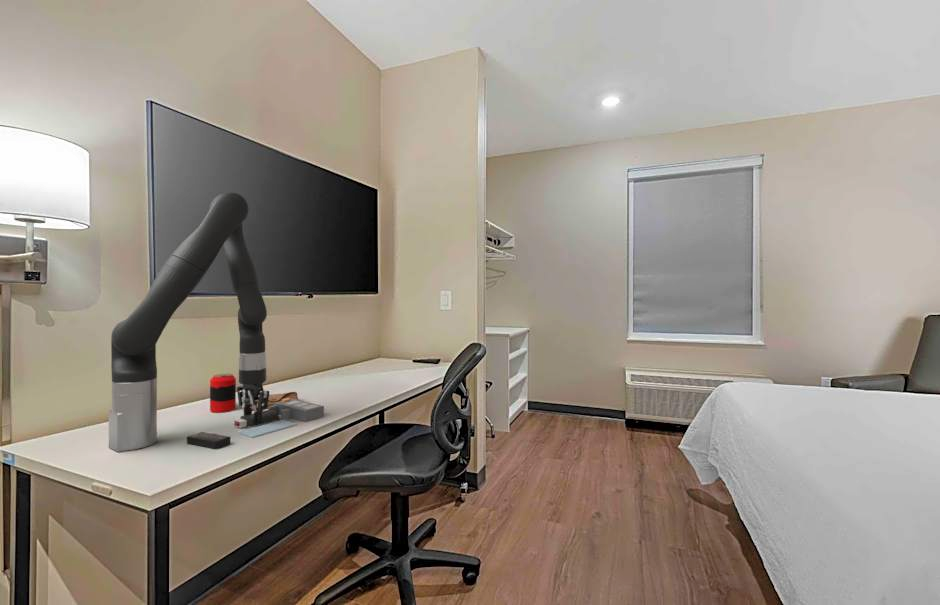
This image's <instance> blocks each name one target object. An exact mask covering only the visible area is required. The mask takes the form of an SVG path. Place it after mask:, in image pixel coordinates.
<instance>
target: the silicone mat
mask: <svg viewBox="0 0 940 605" xmlns="http://www.w3.org/2000/svg"><path fill="white" fill-rule="evenodd" d="M295 426H297V422H296V423H294V422H291V421H288V420H286V419H285V420H281V419H280V420H276V421H272V422H268V423H265V424H261V425H257V426H254V427H252V428H251V427H250V428H247V429H244V430H239V431H238V434H239V435H241V436H245V437H248V438H251V439H254V438H257V437H261V436H265V435H267V434H272V433H274V432H277V431H281V430H285V429H288V428H292V427H295Z"/></svg>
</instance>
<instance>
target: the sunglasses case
mask: <svg viewBox="0 0 940 605" xmlns="http://www.w3.org/2000/svg"><path fill="white" fill-rule="evenodd" d="M298 396H299V395H298V392H296V391H292V392H291V391H290V392H285V393H274V394H269V399H268V406H267V409H266V410H268V407H270V406H274V403H275V402H279V401H281V399H286V398H290V399H296V400H299V398H298ZM255 401H259V400H255ZM263 406H264V403H263ZM257 407H258V404H257ZM250 408H252V412H254V408H253V405H252V407H250Z"/></svg>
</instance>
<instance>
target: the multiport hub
mask: <svg viewBox="0 0 940 605" xmlns="http://www.w3.org/2000/svg"><path fill="white" fill-rule="evenodd" d="M231 438H232V437H231V436H227V435H222V434H216V433H210V432H203V431H200V432H198V433H194V434H191V435H188V436H187V437H186V443H187V445H191V446H196V447H200V448H206V449H211V450H219V449H223V448H224V447H227V446H230V445H231Z"/></svg>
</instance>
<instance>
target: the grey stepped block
mask: <svg viewBox="0 0 940 605" xmlns="http://www.w3.org/2000/svg"><path fill="white" fill-rule="evenodd" d="M267 410H271V411H275V412H277V413H278V414H279V416H280V421H281V420H285V421H286V420H288V419H293V420H297V421H302V422H305V423H307V422H309V421H313V420H317V419H320V417H321V418H323V416H324V417H325V406H324V405H321V404H316V403H313V402H309V401H304V400H299V399H298V400H296V399H290V398H286V399H281V401H279V402H275V403H274V406H270V407H268V409H267Z"/></svg>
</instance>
